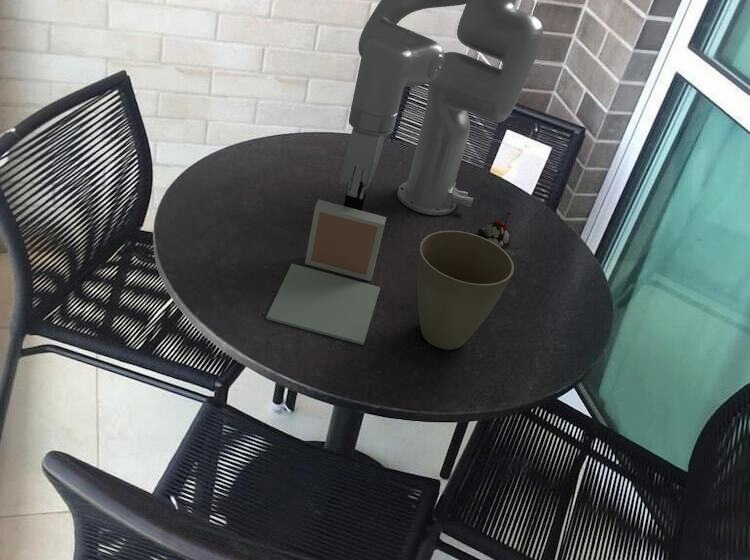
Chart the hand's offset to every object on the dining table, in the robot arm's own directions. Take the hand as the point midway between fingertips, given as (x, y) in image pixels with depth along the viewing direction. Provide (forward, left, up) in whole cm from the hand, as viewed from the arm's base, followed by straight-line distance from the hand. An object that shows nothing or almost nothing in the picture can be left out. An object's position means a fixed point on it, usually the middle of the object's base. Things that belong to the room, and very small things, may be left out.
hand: (351, 213), depth 141 cm
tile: (0, +3, -10) cm, 10 cm away
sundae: (-25, -4, -10) cm, 27 cm away
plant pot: (-20, +14, -10) cm, 27 cm away
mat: (0, +14, -10) cm, 17 cm away
